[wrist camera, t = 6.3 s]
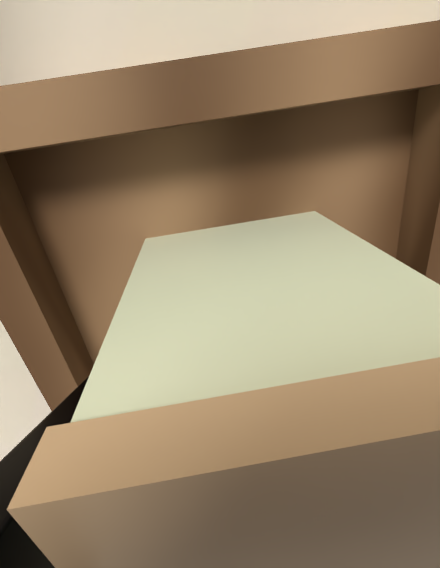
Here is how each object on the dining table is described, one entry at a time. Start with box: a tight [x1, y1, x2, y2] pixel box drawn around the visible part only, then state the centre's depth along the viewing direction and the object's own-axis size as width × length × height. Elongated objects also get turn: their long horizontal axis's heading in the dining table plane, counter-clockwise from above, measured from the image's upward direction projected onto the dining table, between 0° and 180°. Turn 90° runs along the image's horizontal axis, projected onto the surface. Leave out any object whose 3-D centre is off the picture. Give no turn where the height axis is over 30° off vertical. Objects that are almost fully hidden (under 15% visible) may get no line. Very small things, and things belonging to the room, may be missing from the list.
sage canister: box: [7, 211, 440, 568], centre depth 7 cm, size 6×6×8 cm
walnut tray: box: [0, 20, 440, 411], centre depth 10 cm, size 14×14×2 cm
